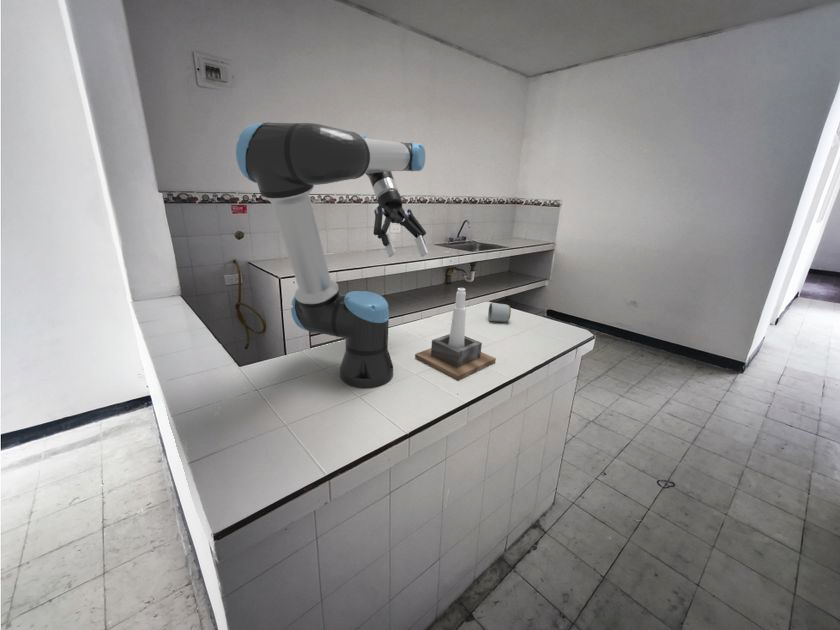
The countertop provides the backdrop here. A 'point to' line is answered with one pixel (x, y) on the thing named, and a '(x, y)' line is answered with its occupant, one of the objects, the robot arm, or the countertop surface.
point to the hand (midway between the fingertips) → (409, 255)
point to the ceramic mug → (499, 312)
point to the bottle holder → (455, 357)
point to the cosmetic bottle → (458, 321)
